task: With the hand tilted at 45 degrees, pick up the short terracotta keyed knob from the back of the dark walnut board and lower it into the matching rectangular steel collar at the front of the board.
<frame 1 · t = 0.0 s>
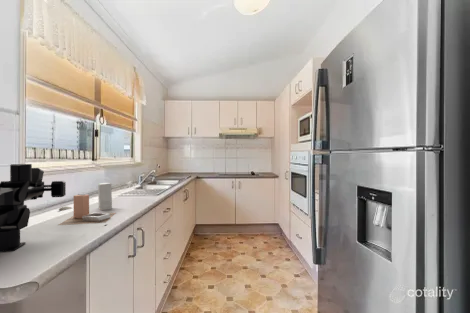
hand: (48, 186, 105), 17 cm above the counter, tool horizontal, fingers open, 9 cm apart
soupspoon: (61, 214, 128), on the counter
keyed knob: (81, 217, 115), point 1 cm above the counter, touching walnut board
walnut board: (89, 221, 112), on the counter
skincare box: (105, 211, 134), on the counter
steel collar: (96, 219, 111), resting on walnut board
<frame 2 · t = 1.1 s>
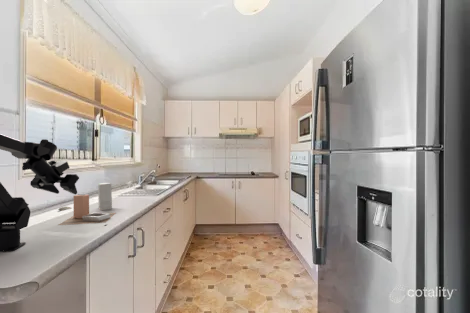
hand: (67, 193, 107), 14 cm above the counter, tool tilted 45°, fingers open, 9 cm apart
nothing on the counter moved.
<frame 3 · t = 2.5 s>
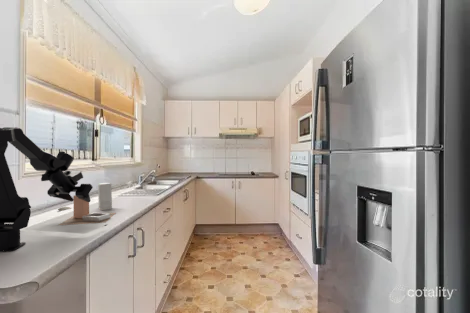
hand: (81, 201, 114), 9 cm above the counter, tool tilted 45°, fingers open, 9 cm apart
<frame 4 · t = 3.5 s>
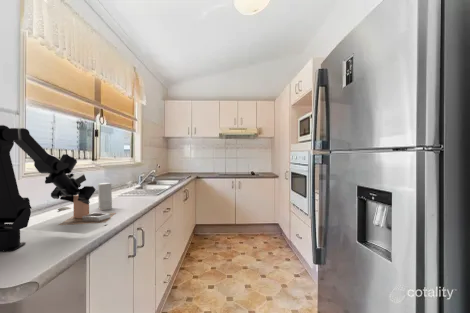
hand: (83, 203, 116), 8 cm above the counter, tool tilted 45°, fingers closed on keyed knob, 5 cm apart
keyed knob: (81, 217, 115), point 2 cm above the counter, touching gripper, walnut board
everything else where it was.
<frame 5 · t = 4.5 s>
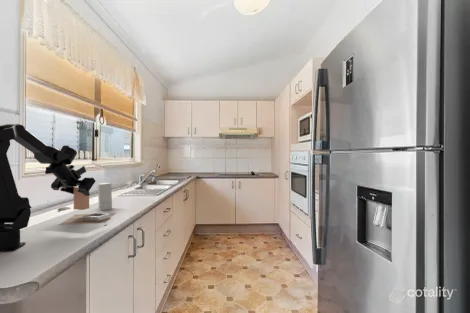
hand: (83, 195, 116), 11 cm above the counter, tool tilted 45°, fingers closed on keyed knob, 5 cm apart
keyed knob: (81, 208, 115), point 5 cm above the counter, touching gripper
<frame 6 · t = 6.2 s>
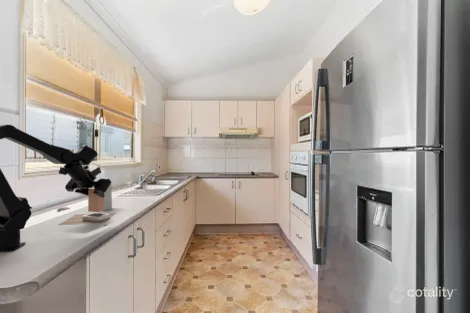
hand: (98, 196, 112), 11 cm above the counter, tool tilted 45°, fingers closed on keyed knob, 5 cm apart
keyed knob: (96, 210, 111), point 5 cm above the counter, touching gripper
when the fingers open (8 cm above the counter, at t = 7.1 s): keyed knob stays where it is, resting on walnut board.
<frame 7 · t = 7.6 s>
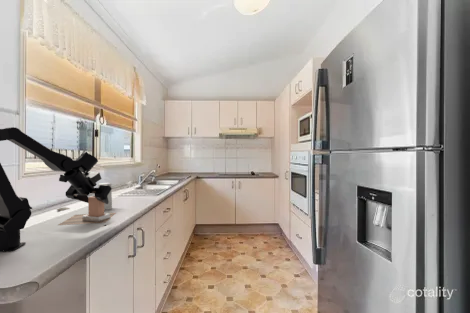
hand: (98, 202, 112), 9 cm above the counter, tool tilted 45°, fingers open, 9 cm apart
keyed knob: (96, 219, 111), point 1 cm above the counter, touching walnut board
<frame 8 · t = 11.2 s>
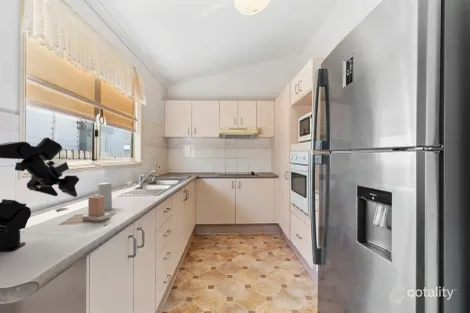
hand: (66, 195, 100), 14 cm above the counter, tool tilted 45°, fingers open, 9 cm apart
at the end: keyed knob 0.0 cm off-centre on the steel collar, point 0.0 cm above the steel collar's base; keyed knob tilted 0°; the gripper is holding nothing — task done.
